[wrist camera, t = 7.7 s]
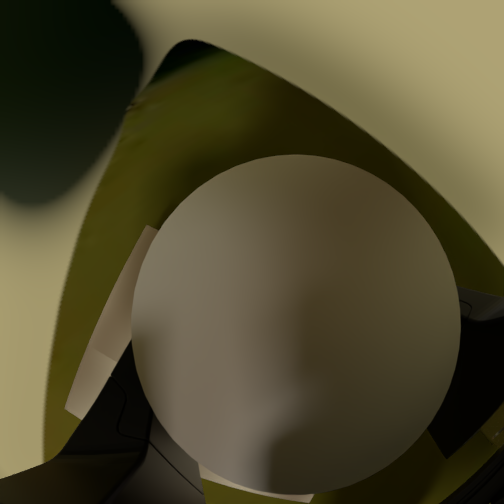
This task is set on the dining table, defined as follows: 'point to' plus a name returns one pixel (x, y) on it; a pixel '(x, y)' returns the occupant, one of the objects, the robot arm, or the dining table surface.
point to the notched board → (114, 343)
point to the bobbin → (295, 324)
